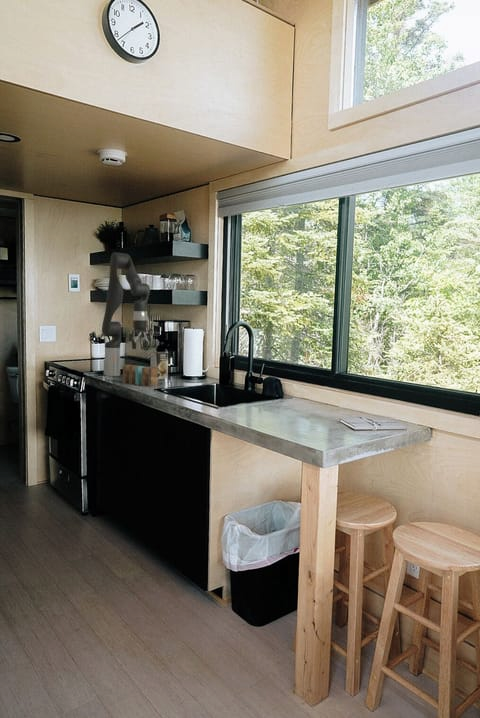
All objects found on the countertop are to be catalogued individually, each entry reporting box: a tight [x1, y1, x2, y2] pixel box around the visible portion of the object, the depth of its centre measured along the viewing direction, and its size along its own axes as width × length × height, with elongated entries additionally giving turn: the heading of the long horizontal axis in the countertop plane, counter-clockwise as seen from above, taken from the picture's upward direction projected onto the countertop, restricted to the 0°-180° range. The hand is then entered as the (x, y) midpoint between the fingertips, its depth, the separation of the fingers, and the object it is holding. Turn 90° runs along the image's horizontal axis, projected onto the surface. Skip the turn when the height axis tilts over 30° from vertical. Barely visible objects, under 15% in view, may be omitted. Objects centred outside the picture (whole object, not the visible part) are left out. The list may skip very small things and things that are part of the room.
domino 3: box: [135, 365, 146, 386], centre depth 294 cm, size 2×5×10 cm, turn 146°
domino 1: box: [122, 364, 133, 384], centre depth 300 cm, size 2×5×10 cm, turn 145°
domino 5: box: [147, 367, 159, 387], centre depth 288 cm, size 2×5×10 cm, turn 145°
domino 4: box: [141, 366, 151, 387], centre depth 291 cm, size 2×5×10 cm, turn 145°
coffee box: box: [150, 351, 169, 380], centre depth 321 cm, size 9×6×16 cm
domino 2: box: [128, 365, 139, 385], centre depth 297 cm, size 2×5×10 cm, turn 145°
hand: (139, 348), depth 293 cm, fingers open, 8 cm apart
